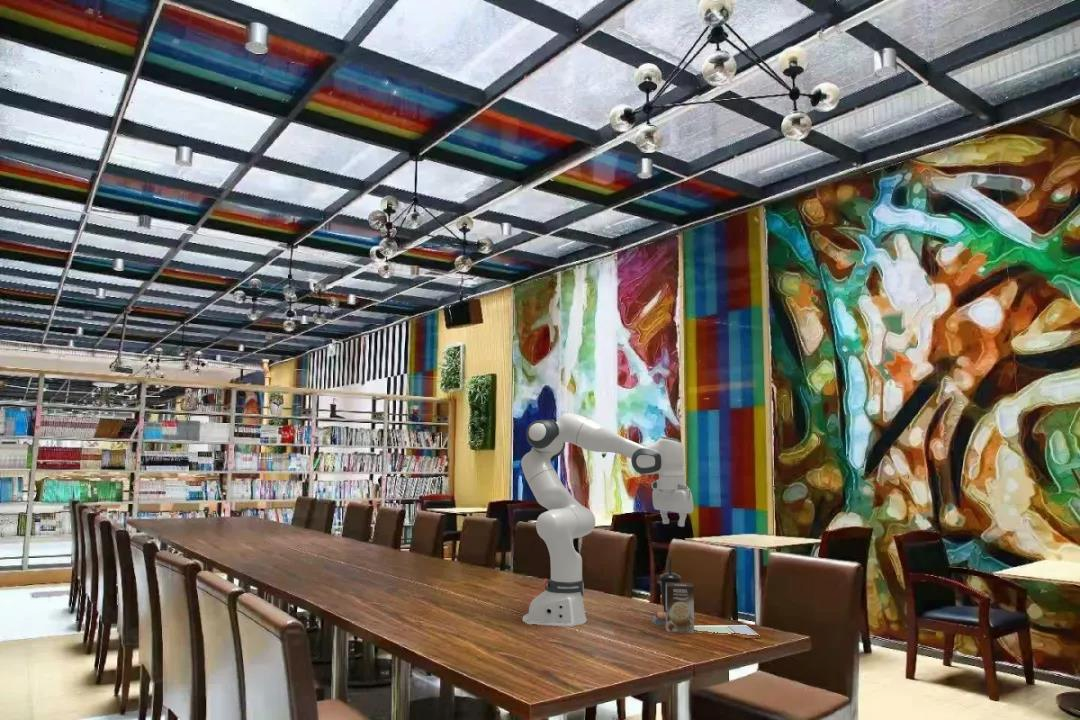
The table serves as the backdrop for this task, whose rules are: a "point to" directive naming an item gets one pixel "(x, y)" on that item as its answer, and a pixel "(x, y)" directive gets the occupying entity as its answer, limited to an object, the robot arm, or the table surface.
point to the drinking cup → (668, 578)
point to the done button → (661, 615)
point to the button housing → (658, 621)
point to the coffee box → (679, 607)
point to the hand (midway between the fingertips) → (673, 524)
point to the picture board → (726, 629)
